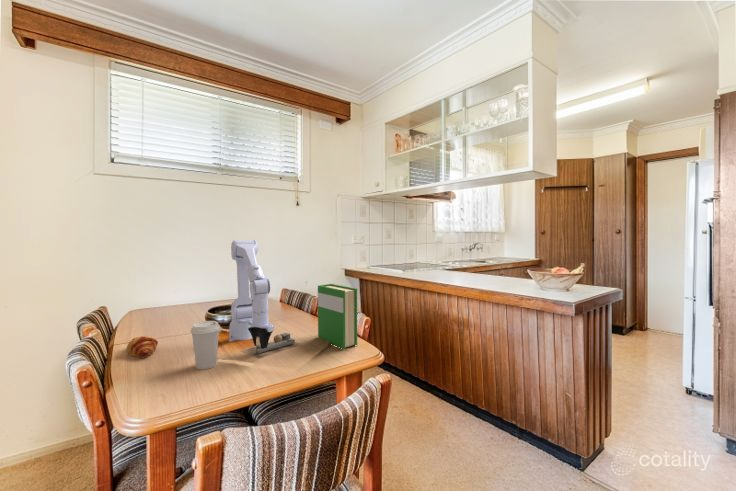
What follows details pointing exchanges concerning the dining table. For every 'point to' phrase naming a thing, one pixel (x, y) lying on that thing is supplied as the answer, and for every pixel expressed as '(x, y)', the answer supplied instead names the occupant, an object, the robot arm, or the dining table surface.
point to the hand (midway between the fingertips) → (260, 346)
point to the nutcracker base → (259, 355)
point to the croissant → (142, 346)
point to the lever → (272, 345)
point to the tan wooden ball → (278, 338)
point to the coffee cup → (205, 343)
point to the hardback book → (337, 315)
